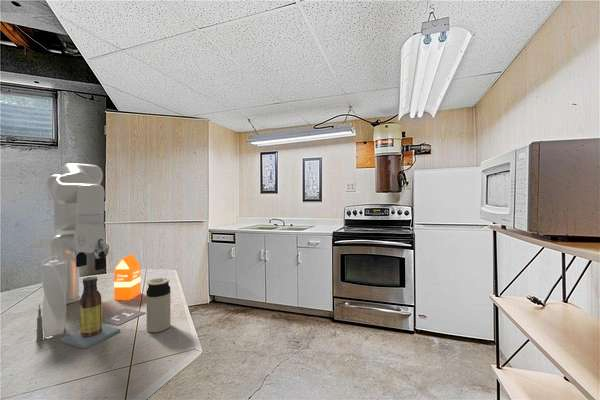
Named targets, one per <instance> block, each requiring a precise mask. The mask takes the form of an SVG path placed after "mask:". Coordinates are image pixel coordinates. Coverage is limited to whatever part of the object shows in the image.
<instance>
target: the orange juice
mask: <svg viewBox="0 0 600 400" xmlns="http://www.w3.org/2000/svg"><path fill="white" fill-rule="evenodd" d="M113 272H114V275H113V277H114V278H113V279H114V280H113V288H114V291H113V293H114V296H113V297H114V300H115V301H117V300H118V301H119V300H121V301H123V300H124V301H126V300H132V299H134V298H135V297H136V296H139V295H140V294H141V279H142V278H141V263H140V262H139V261H138V260H137V259H136V257H135V256H134V254H132V253H131V254H129V255H128V256H124V257H122V258H121V259H120V261H119V262H118V263H117V265H116V267H115V268H114V269H113Z"/></svg>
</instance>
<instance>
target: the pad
mask: <svg viewBox="0 0 600 400" xmlns="http://www.w3.org/2000/svg"><path fill="white" fill-rule="evenodd" d="M120 332H121V328H118V327H114V326H109V325H106V324H103V325H102V331H101V332H100V333H98V334H96V335H94V336H88V337H84V336H82V335H81V331H80V330H79V331H77V332H73V333H72V334H70V335H68V336H63V338H60V343H62V344H65V345H68V346H69V345H70V346H73V347H75V348H76V347H77V348H80V349H84V350H85V349H87V348H89V347H92V346H94V345H95V344H97V343H99V342H101V341H104V340H106V339H107V338H110V337H112V336H114V335H116V334H118V333H120Z"/></svg>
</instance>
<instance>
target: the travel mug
mask: <svg viewBox="0 0 600 400" xmlns="http://www.w3.org/2000/svg"><path fill="white" fill-rule="evenodd" d="M169 282H170V278H168V277H155V278H152V279H150V280H148V281H147V282H146V284H147V286H148V287H147V289H146V331H147V332H149V333H152V332H153V333H154V334H155V332H156V333H160V332H161V333H162V332H163V331H165V330H168V329H169V328H170V327H171V286H170V285H169Z"/></svg>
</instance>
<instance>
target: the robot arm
mask: <svg viewBox="0 0 600 400" xmlns="http://www.w3.org/2000/svg"><path fill="white" fill-rule="evenodd" d="M103 176H104V173H103V170H102V168H101V167H100V166H99V165H96V164H89V163H74V162H72V163H70V162H69V163H65V164H63V165H62V166H61V167H60V168H59V174H52V175H49V176H48V177H47V180H46V185H47V189H48V192H49V194H50V195H51V196H50V197H51V198H52V200H53V224H54V228H55V230H56V231H58V232H68V233H61V234H60V233H59V234H56V235H53V236H52V237H51V239H50V240H49V249H50V253H51V256H53V255H57V259H56V260H59V262H61V261H65V260H67V261H68V264H67V273H66V279H65V284H64V292H65V298H66V305H68V304H72V303H76V302H78V301H79V302H80V300H81V297H82V294H83V293H80V268H81V267H85V266H87V265H88V259H87V258H88V254H92V253H93V254H94V256H95V258H94V270H95V271H100V270H105V269H106V258H107V256H108V253H109V250H110V245H109V244H108V243H106V242H107V241H106V240H107V239H106V229H105V224H104V223H105V221H104V220H105V209H104V208H105V203H104V202H105V194H106V193H105V189H104V186H103V185H101V184H102V181H103ZM69 232H71V233H69ZM72 232H73V233H72ZM74 255H75V256H74ZM55 258H56V257H51V261H54V260H55Z"/></svg>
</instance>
